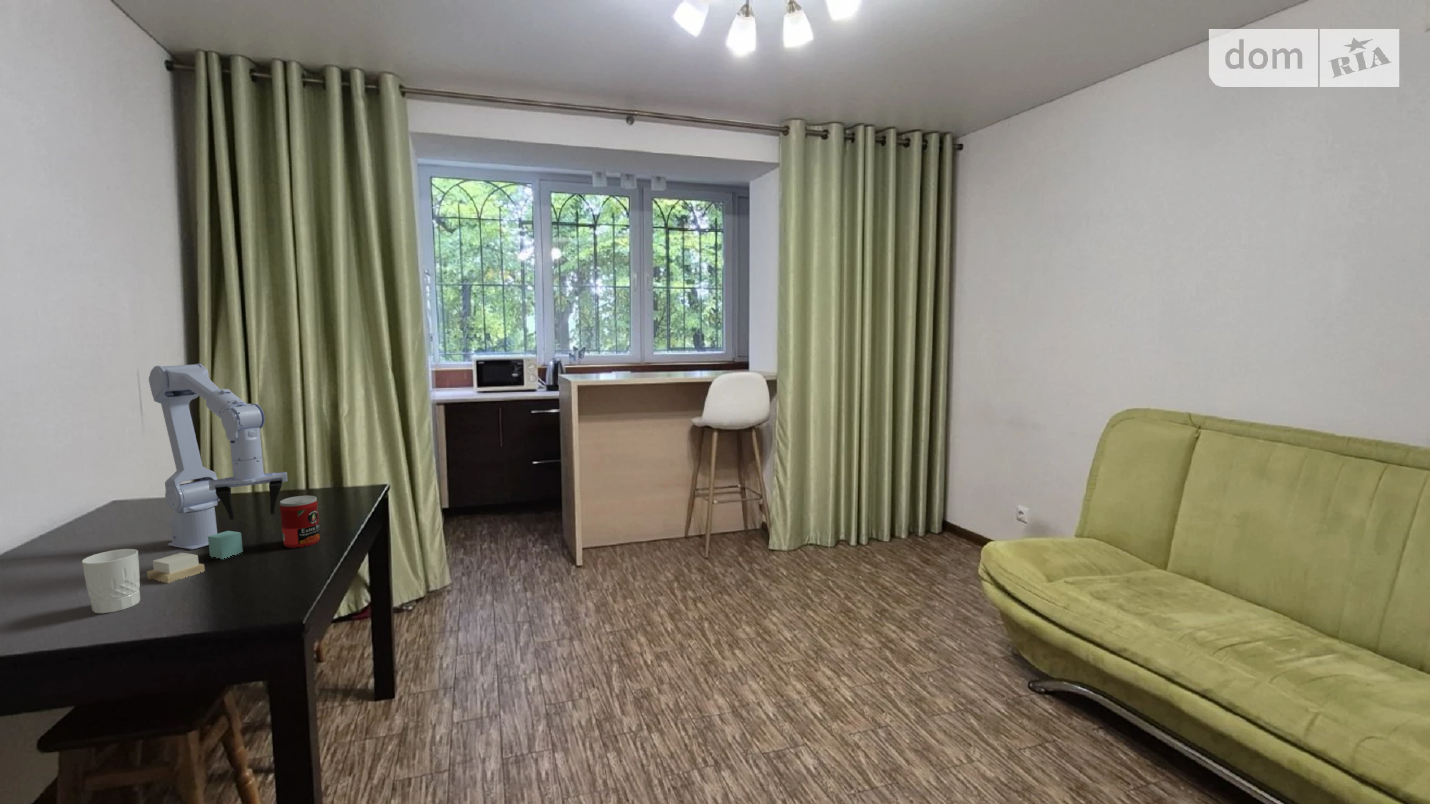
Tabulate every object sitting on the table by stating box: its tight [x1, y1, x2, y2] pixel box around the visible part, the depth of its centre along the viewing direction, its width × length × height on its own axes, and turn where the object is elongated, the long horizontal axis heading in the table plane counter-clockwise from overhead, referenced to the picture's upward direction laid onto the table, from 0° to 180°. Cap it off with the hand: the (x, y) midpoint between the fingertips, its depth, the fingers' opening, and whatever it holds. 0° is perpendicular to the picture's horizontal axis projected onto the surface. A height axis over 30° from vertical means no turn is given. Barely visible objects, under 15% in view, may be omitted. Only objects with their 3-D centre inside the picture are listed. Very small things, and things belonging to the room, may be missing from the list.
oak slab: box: [146, 562, 206, 584], centre depth 140 cm, size 7×7×2 cm
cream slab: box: [152, 552, 200, 574], centre depth 140 cm, size 6×6×2 cm
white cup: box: [81, 548, 141, 614], centre depth 124 cm, size 8×8×10 cm
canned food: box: [279, 495, 321, 549], centre depth 160 cm, size 8×8×11 cm
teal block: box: [208, 530, 244, 560], centre depth 152 cm, size 4×4×5 cm
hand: (252, 515), depth 150 cm, fingers open, 7 cm apart
